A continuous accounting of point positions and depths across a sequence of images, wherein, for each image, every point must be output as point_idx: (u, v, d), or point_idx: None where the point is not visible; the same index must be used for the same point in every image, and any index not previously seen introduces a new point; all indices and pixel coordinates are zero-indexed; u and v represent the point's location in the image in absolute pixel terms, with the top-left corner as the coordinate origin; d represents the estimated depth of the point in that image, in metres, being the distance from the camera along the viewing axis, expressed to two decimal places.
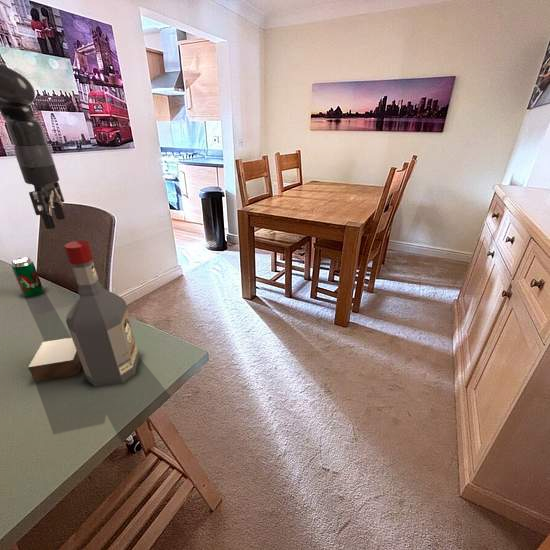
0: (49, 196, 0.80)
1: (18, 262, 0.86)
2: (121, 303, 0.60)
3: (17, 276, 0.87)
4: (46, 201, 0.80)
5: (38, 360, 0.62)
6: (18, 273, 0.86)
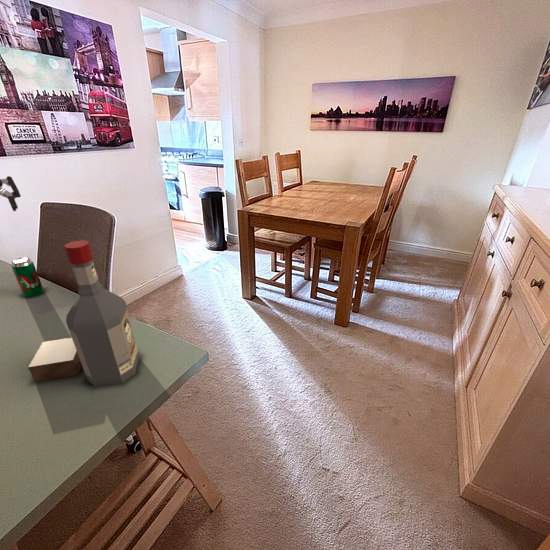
0: None
1: (18, 262, 0.86)
2: (121, 303, 0.60)
3: (17, 276, 0.87)
4: None
5: (38, 360, 0.62)
6: (18, 273, 0.86)
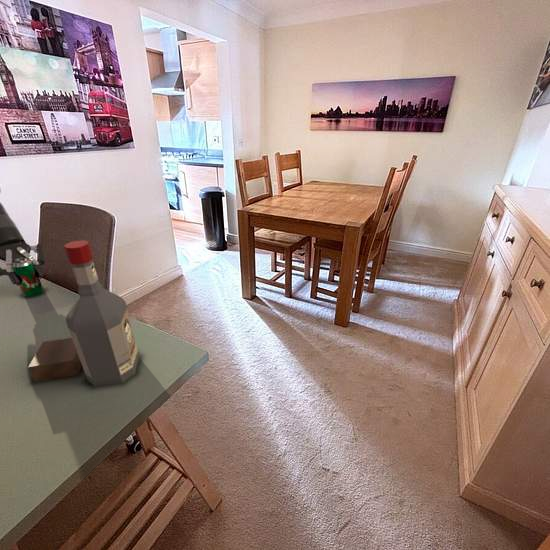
0: None
1: (18, 262, 0.86)
2: (121, 303, 0.60)
3: (17, 276, 0.87)
4: None
5: (38, 360, 0.62)
6: (18, 273, 0.86)
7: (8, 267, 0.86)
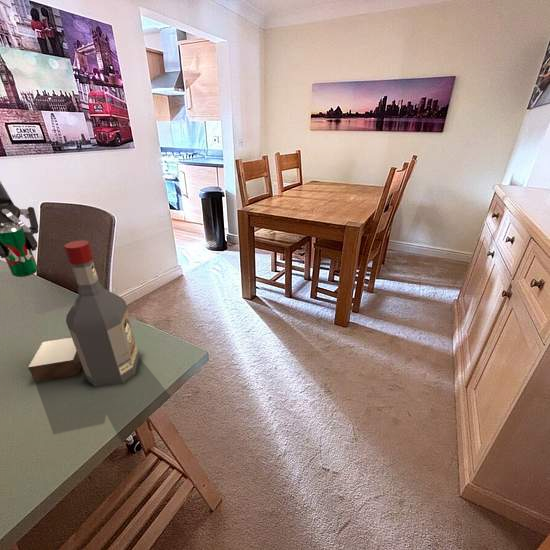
0: None
1: (3, 227, 0.65)
2: (121, 303, 0.60)
3: (2, 246, 0.66)
4: None
5: (38, 360, 0.62)
6: (2, 241, 0.66)
7: None
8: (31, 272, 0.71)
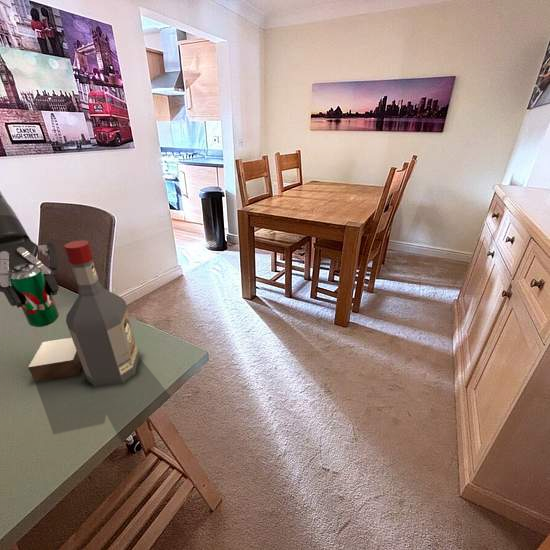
0: None
1: (19, 271, 0.54)
2: (121, 303, 0.60)
3: (18, 293, 0.55)
4: None
5: (38, 360, 0.62)
6: (18, 288, 0.54)
7: (3, 278, 0.54)
8: (51, 321, 0.60)
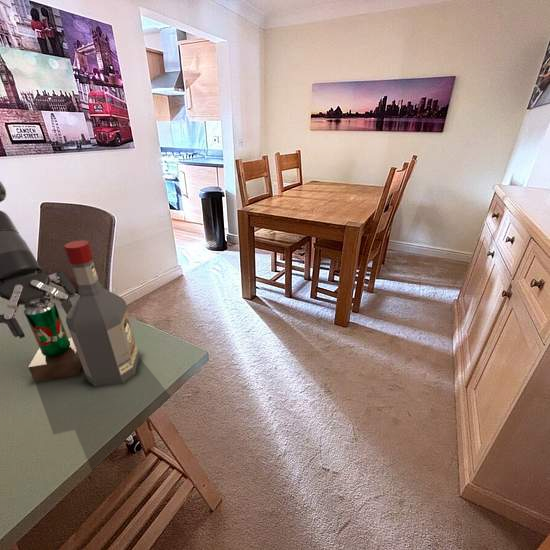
0: None
1: (34, 307, 0.58)
2: (121, 303, 0.60)
3: (33, 327, 0.59)
4: (46, 291, 0.63)
5: (38, 360, 0.62)
6: (34, 322, 0.58)
7: (9, 310, 0.57)
8: (63, 350, 0.63)
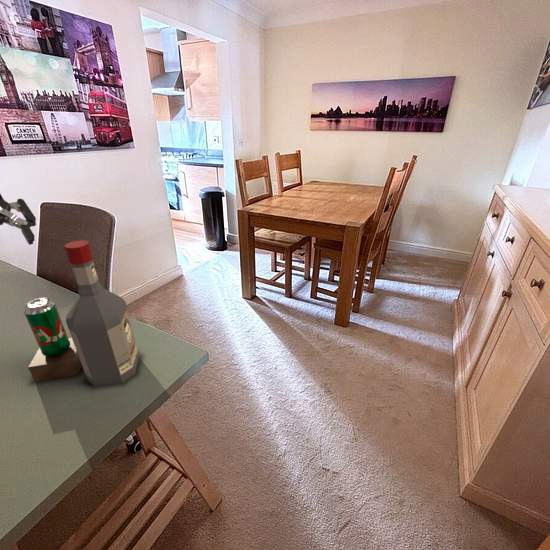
0: None
1: (34, 307, 0.58)
2: (121, 303, 0.60)
3: (33, 327, 0.59)
4: (7, 218, 0.65)
5: (38, 360, 0.62)
6: (34, 322, 0.58)
7: None
8: (63, 350, 0.63)
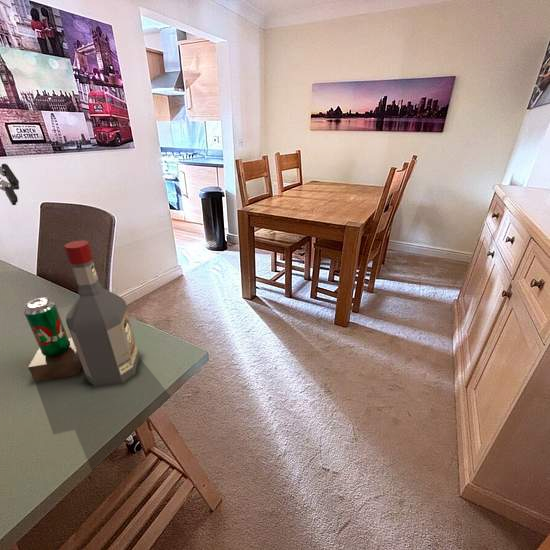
0: None
1: (34, 307, 0.58)
2: (121, 303, 0.60)
3: (33, 327, 0.59)
4: None
5: (38, 360, 0.62)
6: (34, 322, 0.58)
7: None
8: (63, 350, 0.63)
